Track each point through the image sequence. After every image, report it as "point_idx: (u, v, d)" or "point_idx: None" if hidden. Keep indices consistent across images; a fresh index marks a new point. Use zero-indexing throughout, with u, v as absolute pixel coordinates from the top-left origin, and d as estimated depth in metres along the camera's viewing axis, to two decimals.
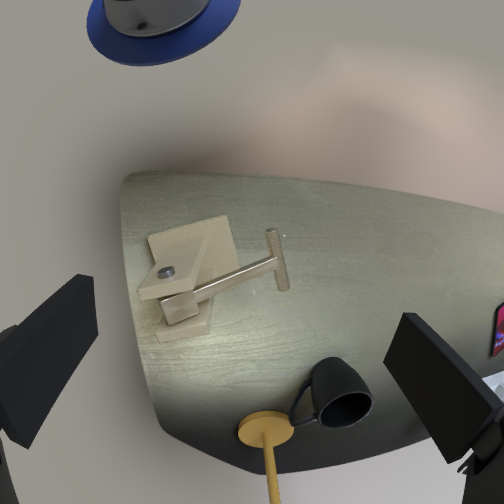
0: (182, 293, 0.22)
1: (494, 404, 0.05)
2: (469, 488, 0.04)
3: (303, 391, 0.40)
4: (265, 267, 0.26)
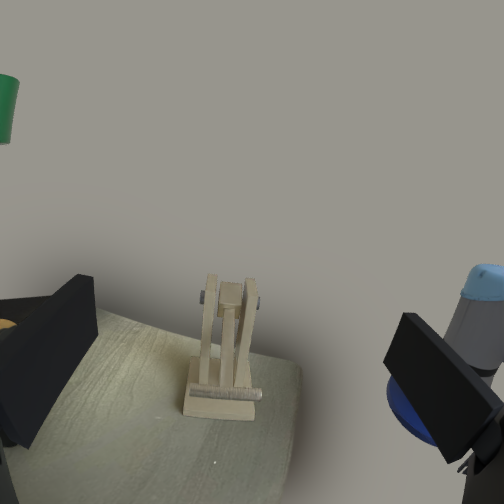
0: (241, 298, 0.28)
1: (494, 404, 0.05)
2: (469, 488, 0.04)
3: None
4: (227, 373, 0.23)
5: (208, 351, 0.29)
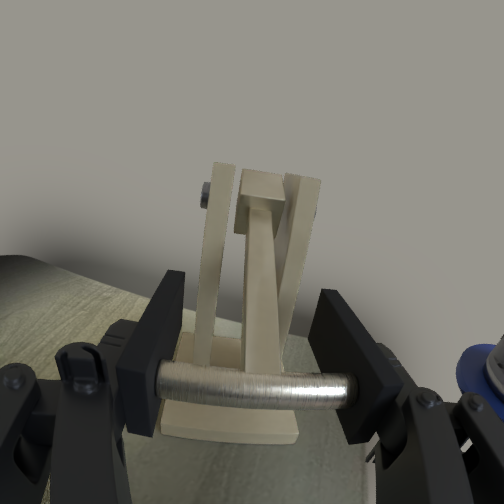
0: (283, 191, 0.14)
1: (388, 381, 0.07)
2: (381, 485, 0.05)
3: None
4: (264, 335, 0.09)
5: (213, 305, 0.15)
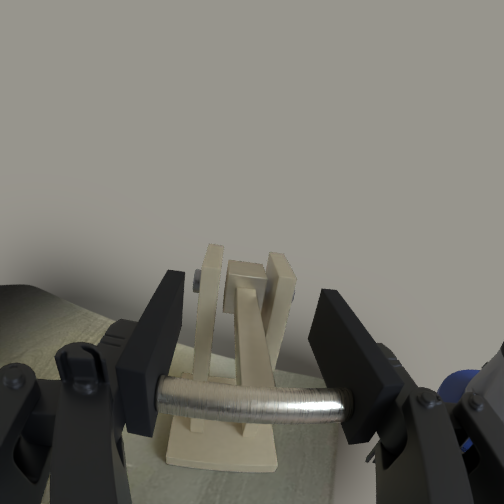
0: (265, 273, 0.17)
1: (388, 381, 0.07)
2: (380, 485, 0.05)
3: None
4: (257, 362, 0.09)
5: (206, 372, 0.17)
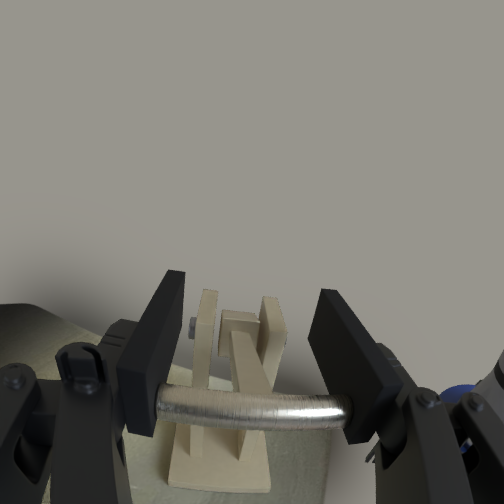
0: (257, 318, 0.17)
1: (388, 381, 0.07)
2: (381, 485, 0.05)
3: None
4: (254, 377, 0.09)
5: None
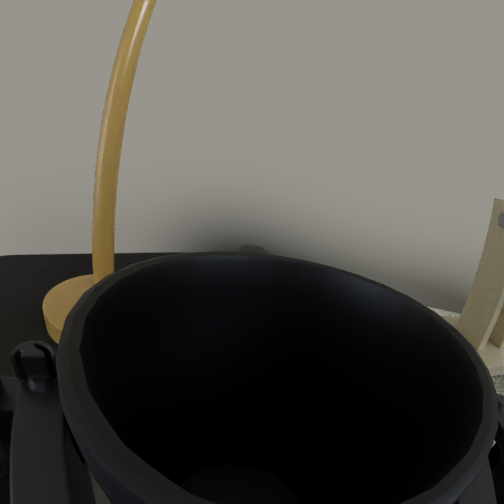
0: None
1: None
2: None
3: None
4: None
5: None
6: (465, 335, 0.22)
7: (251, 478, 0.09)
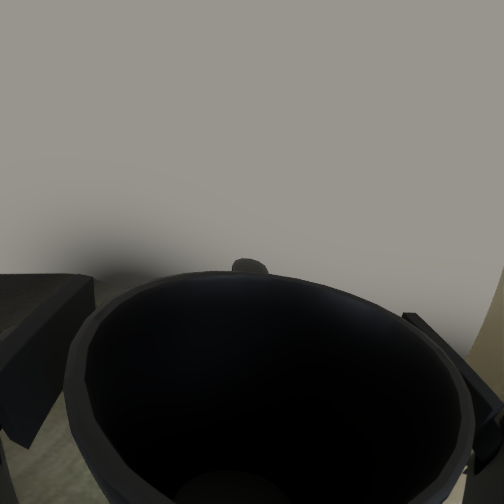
0: None
1: (494, 404, 0.05)
2: (469, 488, 0.04)
3: None
4: None
5: None
6: None
7: (246, 483, 0.10)
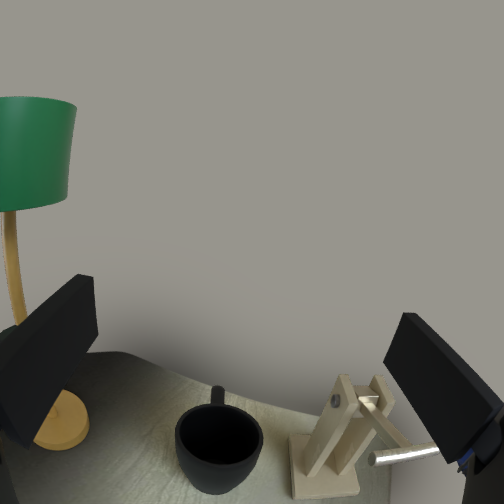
0: None
1: (494, 404, 0.05)
2: (469, 488, 0.04)
3: None
4: (400, 438, 0.16)
5: (332, 447, 0.23)
6: (305, 460, 0.28)
7: (218, 464, 0.27)
